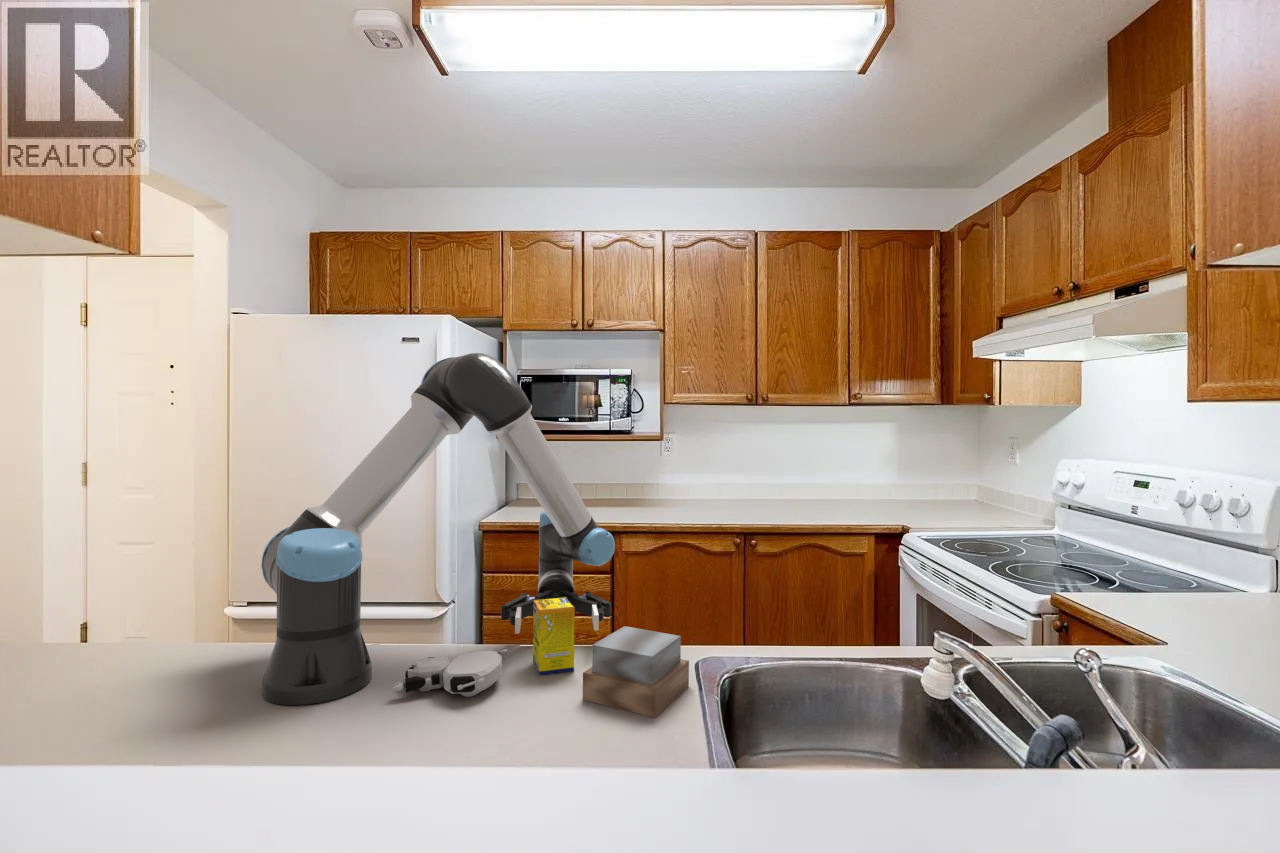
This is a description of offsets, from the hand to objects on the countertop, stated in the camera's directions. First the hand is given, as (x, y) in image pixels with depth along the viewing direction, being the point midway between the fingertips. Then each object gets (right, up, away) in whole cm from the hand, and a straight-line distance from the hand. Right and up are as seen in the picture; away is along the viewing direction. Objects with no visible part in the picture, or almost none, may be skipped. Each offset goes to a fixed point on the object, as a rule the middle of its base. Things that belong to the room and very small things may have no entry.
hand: (557, 624), depth 107 cm
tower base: (+14, -6, -13) cm, 20 cm away
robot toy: (-15, -7, -11) cm, 20 cm away
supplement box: (0, -7, -3) cm, 7 cm away
